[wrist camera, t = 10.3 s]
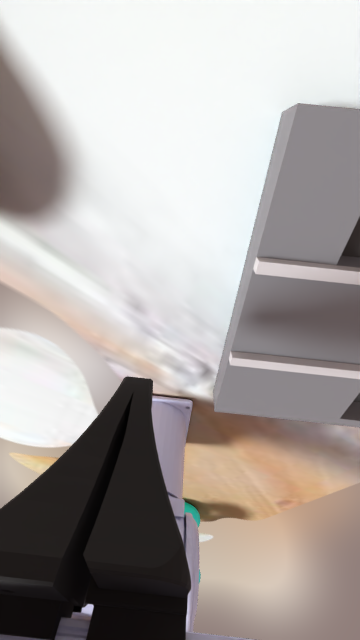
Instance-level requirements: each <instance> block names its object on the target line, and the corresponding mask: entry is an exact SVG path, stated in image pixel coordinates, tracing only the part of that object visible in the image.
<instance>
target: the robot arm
mask: <svg viewBox="0 0 360 640" xmlns="http://www.w3.org/2000/svg"><path fill="white" fill-rule="evenodd" d="M152 394H153V381H152V380H151V379H145V378H136V377H125V378H124V379H123V381H122V383H121V384H120V386H119V388H118V389H117V391H116V392H115V394H114V395H113V397H112V398H111V399H110V401H109V402H108V403H107V405H106V406H105V407H104V409H103V410H102V412H101V413H100V414H99V415H98V416H97V418H96V419H95V420H94V421H93V422H92V424H91V425H90V426H89V427H88V428H87V430H86V431H85V432H84V433H83V434H82V435H81V436H80V437H79V438H78V440H77V441H76V442H75V443H74V444H73V445H72V446H71V447H70V448H69V449H68V450H67V451H66V452H65V453H64V454H63V455H62V456H61V457H60V458H59V459H58V460H57V461H56V462H55V463H54V464H53V465H52V466H50V467H49V468H48V469H47V470H46V471H45V472H44V473H43V474H42V475H40V476H39V477H38V478H37V479H36V480H35V481H34V482H33V483H31V484H30V485H29V486H28V487H27V488H25V489H24V491H22V492H21V493H20V494H18V495H17V496H16V497H15V498H13V499H12V500H11V501H10V502H8V503H7V504H6V505H4V506H3V507H2V508H1V509H0V640H255V639H247V638H238V637H229V636H220V635H212V634H202V633H195V632H193V626H194V618H195V616H196V609H197V601H198V587H199V534H198V526H197V523H196V521H195V520H194V518H193V516H192V514H191V513H186V512H185V514H184V505H185V500H184V499H182V493H183V473H184V452H185V444H186V438H187V433H188V427H189V422H190V416H191V411H192V406H193V402H192V401H191V400H188V399H179V398H170V397H161V396H152Z"/></svg>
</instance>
